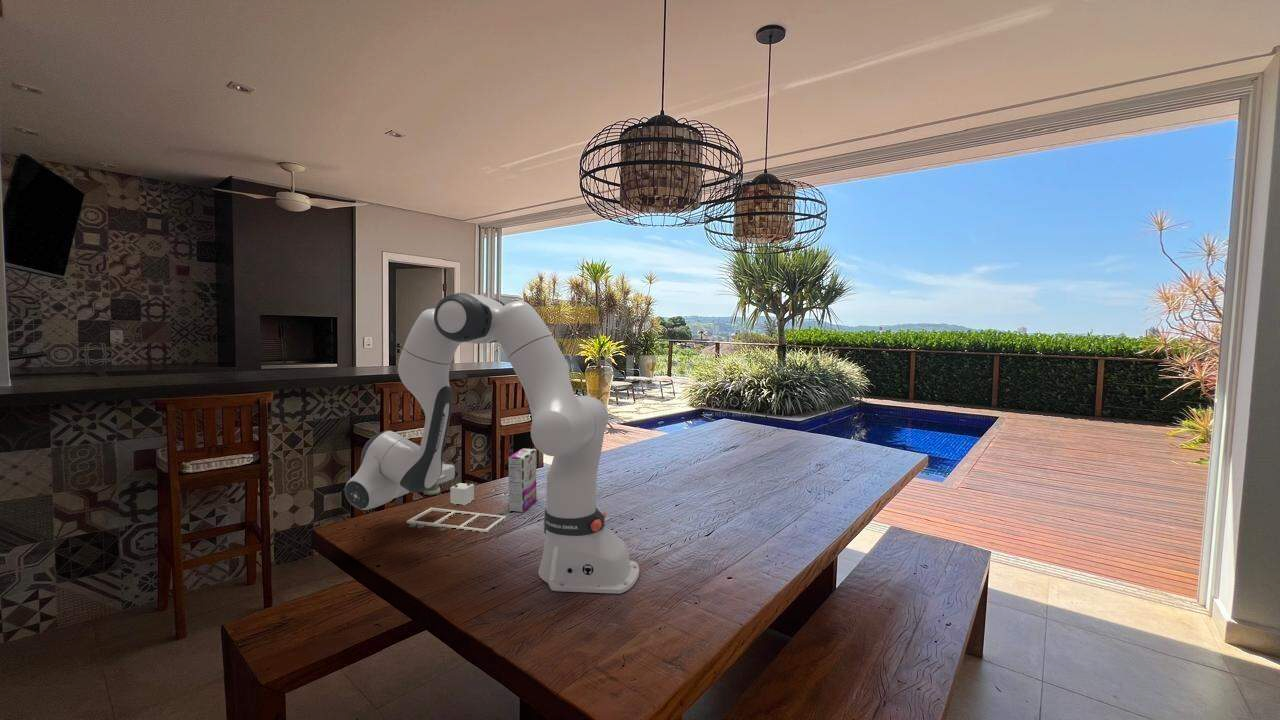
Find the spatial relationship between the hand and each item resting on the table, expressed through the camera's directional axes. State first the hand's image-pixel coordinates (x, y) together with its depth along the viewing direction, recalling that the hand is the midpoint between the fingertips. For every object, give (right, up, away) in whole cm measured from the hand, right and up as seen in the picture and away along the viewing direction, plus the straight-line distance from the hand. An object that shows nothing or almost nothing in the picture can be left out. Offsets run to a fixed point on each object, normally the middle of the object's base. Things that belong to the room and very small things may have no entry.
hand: (433, 463), depth 152 cm
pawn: (0, -8, 0) cm, 8 cm away
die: (+4, -14, +14) cm, 20 cm away
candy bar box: (+22, -15, +11) cm, 29 cm away
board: (+7, -16, -3) cm, 17 cm away
